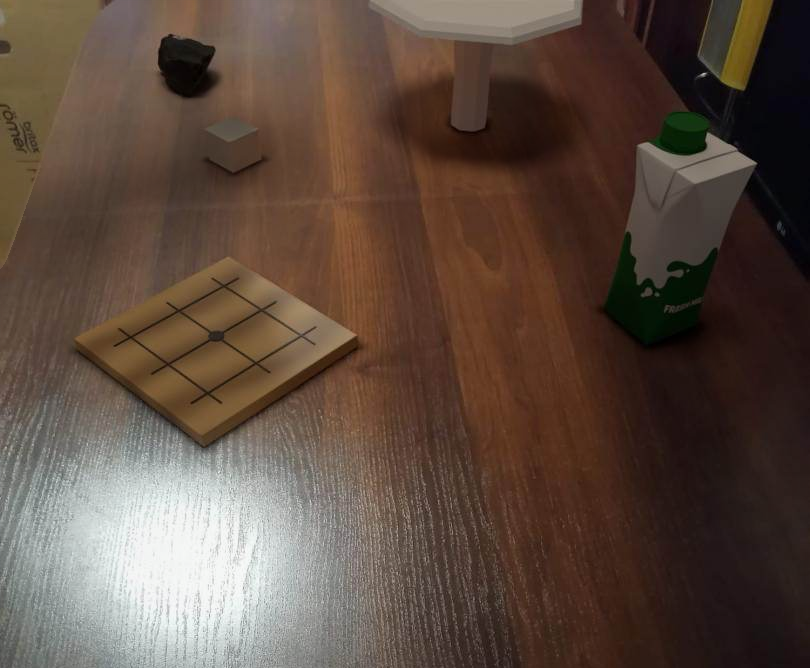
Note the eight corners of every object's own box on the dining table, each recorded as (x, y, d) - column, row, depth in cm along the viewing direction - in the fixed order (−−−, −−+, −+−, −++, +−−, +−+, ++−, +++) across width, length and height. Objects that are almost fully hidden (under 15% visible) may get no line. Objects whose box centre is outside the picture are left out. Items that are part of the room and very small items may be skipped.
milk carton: (652, 284, 96) (705, 99, 80) (709, 328, 91) (777, 141, 75) (590, 307, 93) (632, 120, 77) (646, 354, 88) (702, 165, 72)
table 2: (512, 197, 107) (530, 53, 94) (326, 136, 115) (319, -3, 102) (602, 109, 122) (628, -25, 109) (432, 62, 131) (437, -68, 118)
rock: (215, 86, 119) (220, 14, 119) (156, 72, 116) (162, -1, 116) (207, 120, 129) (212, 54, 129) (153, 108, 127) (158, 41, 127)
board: (77, 350, 87) (72, 337, 86) (230, 267, 96) (228, 254, 95) (204, 447, 78) (201, 434, 77) (358, 346, 88) (357, 333, 87)
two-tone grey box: (209, 159, 111) (203, 128, 108) (237, 146, 113) (233, 116, 110) (233, 173, 109) (228, 141, 106) (261, 159, 111) (258, 128, 108)
